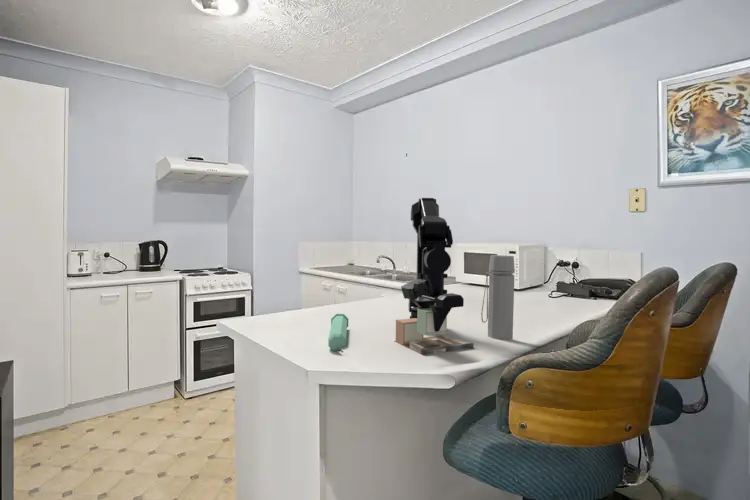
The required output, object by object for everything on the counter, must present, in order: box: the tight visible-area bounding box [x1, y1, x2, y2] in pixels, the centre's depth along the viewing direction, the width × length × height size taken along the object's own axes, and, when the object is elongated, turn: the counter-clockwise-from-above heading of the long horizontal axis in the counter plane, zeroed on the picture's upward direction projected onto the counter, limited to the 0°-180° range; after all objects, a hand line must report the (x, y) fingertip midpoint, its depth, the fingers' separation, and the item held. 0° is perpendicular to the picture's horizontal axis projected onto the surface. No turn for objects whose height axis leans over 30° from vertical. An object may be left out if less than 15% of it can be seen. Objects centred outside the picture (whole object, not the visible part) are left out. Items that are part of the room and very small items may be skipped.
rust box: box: [395, 318, 425, 346], centre depth 116 cm, size 4×6×6 cm, turn 117°
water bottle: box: [480, 254, 516, 341], centre depth 124 cm, size 9×8×25 cm
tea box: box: [417, 308, 448, 336], centre depth 109 cm, size 4×6×6 cm, turn 117°
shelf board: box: [393, 335, 475, 356], centre depth 114 cm, size 16×15×3 cm
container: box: [327, 313, 349, 352], centre depth 122 cm, size 6×6×25 cm
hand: (431, 329), depth 109 cm, fingers closed on tea box, 4 cm apart
